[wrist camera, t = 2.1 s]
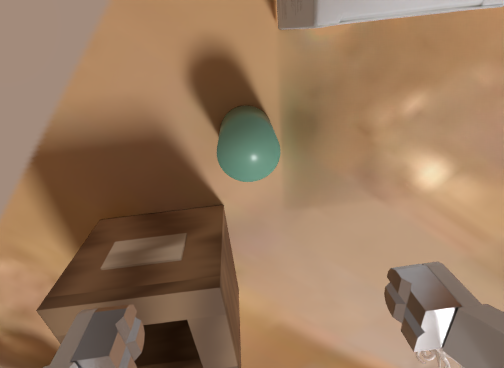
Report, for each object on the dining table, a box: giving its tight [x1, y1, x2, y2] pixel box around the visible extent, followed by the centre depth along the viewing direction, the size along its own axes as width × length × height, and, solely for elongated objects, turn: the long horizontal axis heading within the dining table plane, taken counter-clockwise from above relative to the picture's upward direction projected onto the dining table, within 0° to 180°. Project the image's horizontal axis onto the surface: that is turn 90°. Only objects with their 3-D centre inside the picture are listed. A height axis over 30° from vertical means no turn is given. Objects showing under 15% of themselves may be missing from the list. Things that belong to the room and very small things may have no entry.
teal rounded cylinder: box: [217, 106, 280, 182], centre depth 21 cm, size 4×4×5 cm
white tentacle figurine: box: [416, 349, 464, 368], centre depth 35 cm, size 9×12×9 cm
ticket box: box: [36, 205, 241, 368], centre depth 25 cm, size 12×12×10 cm
